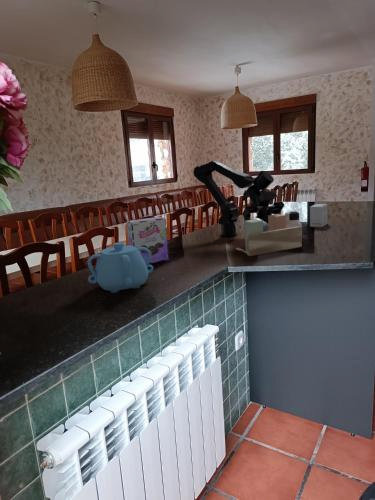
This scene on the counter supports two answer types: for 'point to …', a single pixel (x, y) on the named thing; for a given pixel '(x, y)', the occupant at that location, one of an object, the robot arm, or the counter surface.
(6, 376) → the counter surface
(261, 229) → the sage block
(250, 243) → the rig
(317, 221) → the skincare box
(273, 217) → the terracotta block
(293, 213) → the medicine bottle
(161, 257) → the candy box
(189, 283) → the counter surface
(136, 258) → the decorative pot
